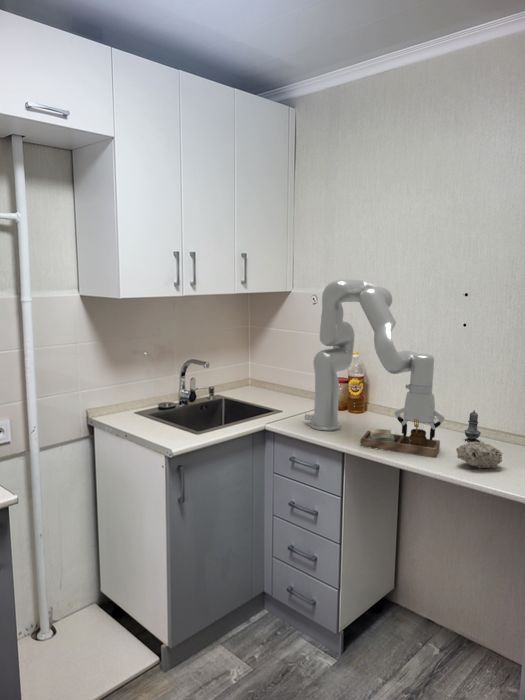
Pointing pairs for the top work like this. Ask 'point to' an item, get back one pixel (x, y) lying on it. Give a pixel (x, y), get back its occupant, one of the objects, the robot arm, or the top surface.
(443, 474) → the top surface
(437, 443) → the wooden divided tray
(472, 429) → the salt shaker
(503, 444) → the top surface
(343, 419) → the top surface
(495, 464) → the pumice stone
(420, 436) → the utensil holder
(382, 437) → the offcut stack
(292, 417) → the top surface
